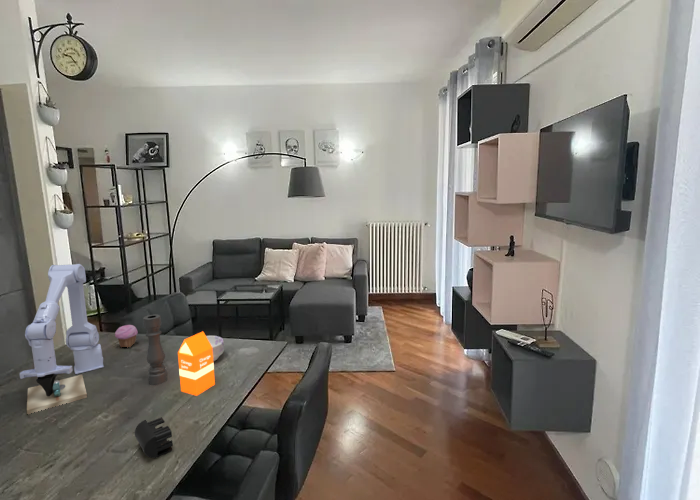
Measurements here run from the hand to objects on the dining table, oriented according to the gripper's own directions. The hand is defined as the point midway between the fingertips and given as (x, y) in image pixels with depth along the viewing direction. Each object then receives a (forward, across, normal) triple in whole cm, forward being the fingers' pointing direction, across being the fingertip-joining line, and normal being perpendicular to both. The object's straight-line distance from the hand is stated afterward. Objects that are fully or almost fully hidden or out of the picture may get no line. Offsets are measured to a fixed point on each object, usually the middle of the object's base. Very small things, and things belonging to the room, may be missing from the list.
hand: (49, 394), depth 131 cm
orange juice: (+3, +48, -3) cm, 48 cm away
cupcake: (+3, +11, +45) cm, 46 cm away
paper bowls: (+3, +47, +21) cm, 52 cm away
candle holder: (+3, +32, +6) cm, 33 cm away
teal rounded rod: (+1, +1, +3) cm, 3 cm away
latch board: (+2, 0, +5) cm, 5 cm away
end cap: (+3, +41, -35) cm, 54 cm away
